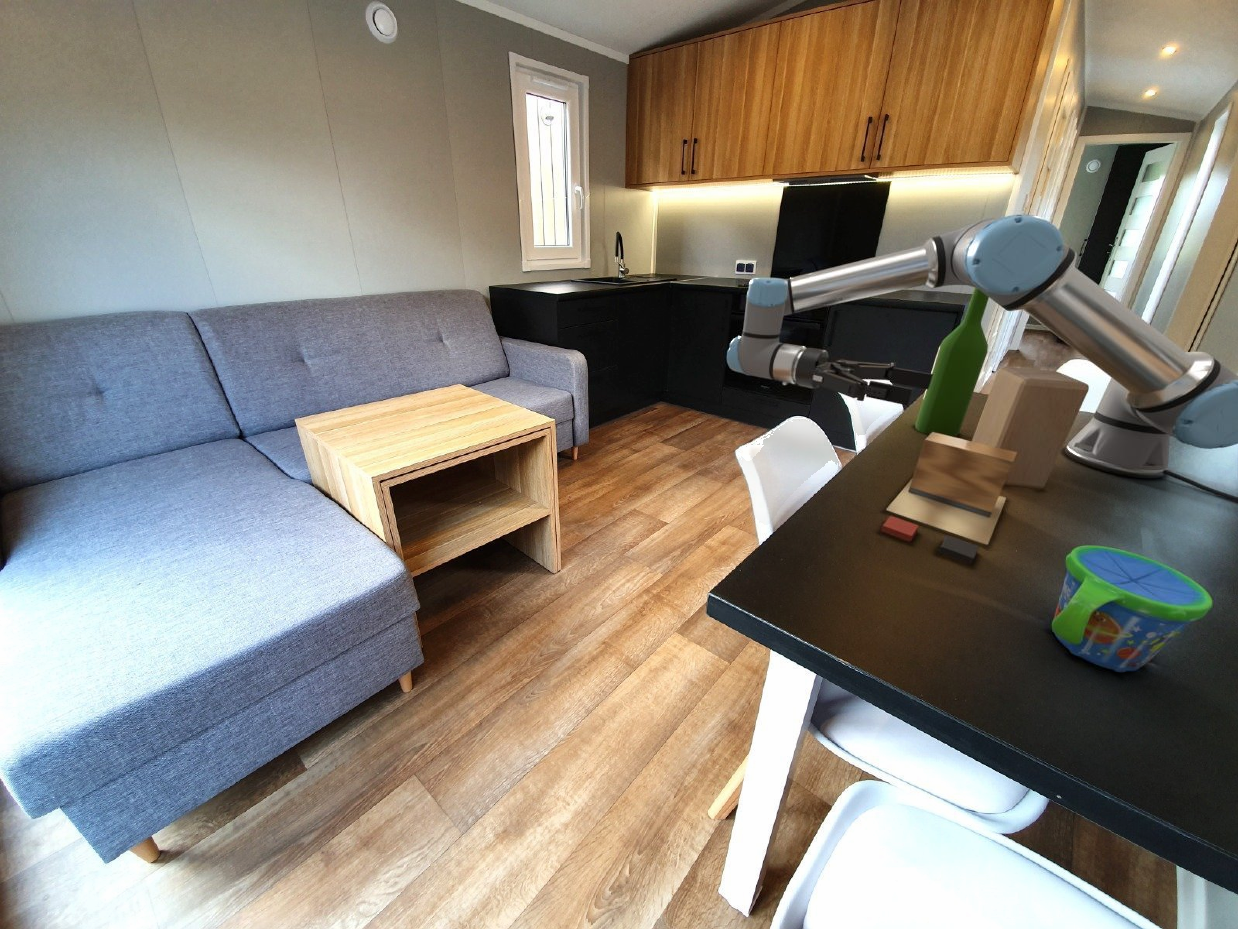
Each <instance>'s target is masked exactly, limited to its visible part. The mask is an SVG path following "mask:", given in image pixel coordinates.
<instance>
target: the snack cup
mask: <svg viewBox="0 0 1238 929" xmlns="http://www.w3.org/2000/svg"><path fill="white" fill-rule="evenodd" d="M1065 567H1066V575H1065V577H1064V583H1063V584H1062V589H1061V593H1060V595H1059V599H1058V603H1057V605H1056V609H1055V613H1054V617H1053V620H1052V622H1051V629H1052V633H1054V636H1055V637H1056V638H1057V640H1058V641H1059V642H1060V643H1061V644H1062V645H1063V646H1064V647H1065V648H1067V649H1068V650H1069V652H1070V653H1071V654H1072V655H1074V656H1076V657H1080V658H1081V659H1084V660H1085V661H1086V662H1089V663H1091V664H1094V665H1097V666H1099V667H1101V668H1105V669H1108V670H1113V671H1114V672H1116V673H1125V672H1135V671H1137V670H1139V669H1140V668H1142V667H1143V666H1144V665H1146V664H1148V662H1149V661H1151V660H1152V659H1153V658H1154V657H1155V656H1157V655H1158V653H1160V651H1162V650H1163V649H1164V648H1165V647H1166V646H1167V645H1169V644H1170V643H1171V642H1172V641H1173V639H1174V640H1175V638H1176V637H1177V636H1179V634H1180V633H1181V632H1182V631H1183V630H1184V629H1185V628H1186V627H1187V625H1189V624H1191V623H1192V622H1196V621H1198V620H1200V619H1202V618H1203V617H1204V616H1205V615H1206V614H1207V613H1208V612H1209V610H1210V609H1211V608H1213V600H1212V597H1211V595H1210V594H1209V592H1208V591H1207V590H1206V589H1205V588H1204V587H1203V586H1201V585H1200V584H1199V583H1198V582H1197V581H1195V580H1193V579H1192V578H1191V577H1189V576H1187V575H1186V574H1183V573H1182V572H1180V571H1178V570H1177V569H1174V568H1172V567H1170V566H1168V565H1166V564H1164V563H1161V562H1159V561H1156V560H1154V559H1151V558H1149V557H1147V556H1146V557H1145V556H1143V555H1140V554H1137V553H1134V552H1132V551H1131V552H1130V551H1127V550H1122V549H1118V548H1113V547H1109V546H1102V545H1081V546H1077V547H1075V548H1073V549H1072V550H1071V552H1070V553H1069V554H1067V555H1066V556H1065Z"/></svg>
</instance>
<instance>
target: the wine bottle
mask: <svg viewBox="0 0 1238 929" xmlns="http://www.w3.org/2000/svg"><path fill="white" fill-rule="evenodd" d="M989 299H990V298H989V297H988V296H987V295H985V294H984V293H983V292H981V291H980V290H979V289H977V288H975V287H974V290H973V292H972V295H971V298H970V300H969V303H968V307H967V309H966V312H965V316H964V318H963V321H961V323H960V324H959V325H958V326H957V327H956V328H955V329H953V331H951V333H949V334H948V335H947V336H946V337H945V338H944V339H943V340H942V342H941V344H940V345H939V347H938V350H937V353H936V355H935V359H934V362H933V366H932V370H931V373H930V374H933V376H932V380H931V383H930V386H929V389H925V392H924V395H923V398H922V402H921V405H920V409H919V412H918V414H917V418H916V421H915V427H914V428H915V429H916V430H917V431H918V432H920V433H922V434H924V435H928V436H929V435H930V434H931V433H932V432H934V433H939V434H943V435H947V436H951V437H955V438H957V436H958V435H959V434H960V431H961V428H962V425H963V423H964V420H965V417H966V414H967V411H968V409H969V406H970V402H971V400H972V397H973V394H974V391H975V389H976V386H977V383H978V381H979V377H980V375H981V372H982V369H983V366H984V363H985V361H986V357H987V355H988V349H989V344H988V340H987V338H986V335H985V332H984V329H983V326H982V319H983V317H984V314H985V311H986V308H987V306H988V302H989Z"/></svg>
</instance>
